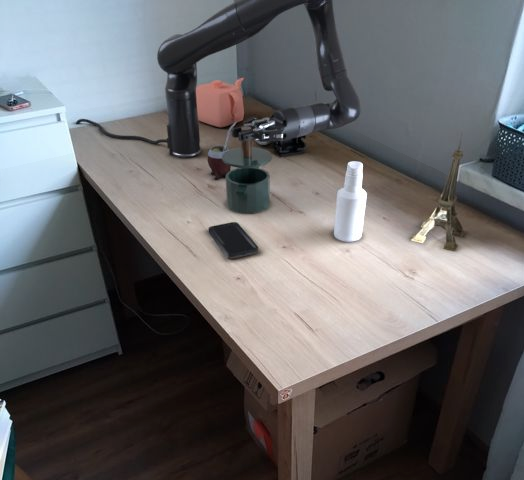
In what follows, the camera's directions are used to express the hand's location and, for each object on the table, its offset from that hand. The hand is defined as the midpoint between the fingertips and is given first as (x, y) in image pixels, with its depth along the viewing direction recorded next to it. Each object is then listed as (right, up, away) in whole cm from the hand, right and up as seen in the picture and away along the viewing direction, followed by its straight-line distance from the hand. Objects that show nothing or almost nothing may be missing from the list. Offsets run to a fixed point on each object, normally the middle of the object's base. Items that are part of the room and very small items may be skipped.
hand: (236, 135), depth 135 cm
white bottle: (+27, -25, 0) cm, 37 cm away
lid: (+2, -4, +5) cm, 7 cm away
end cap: (+15, +11, +43) cm, 47 cm away
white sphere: (+6, +16, +48) cm, 51 cm away
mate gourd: (-6, -1, +28) cm, 29 cm away
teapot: (-7, +32, +66) cm, 74 cm away
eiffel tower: (+50, -25, 0) cm, 56 cm away
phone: (-1, -27, -2) cm, 27 cm away
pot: (+3, -13, +13) cm, 19 cm away
